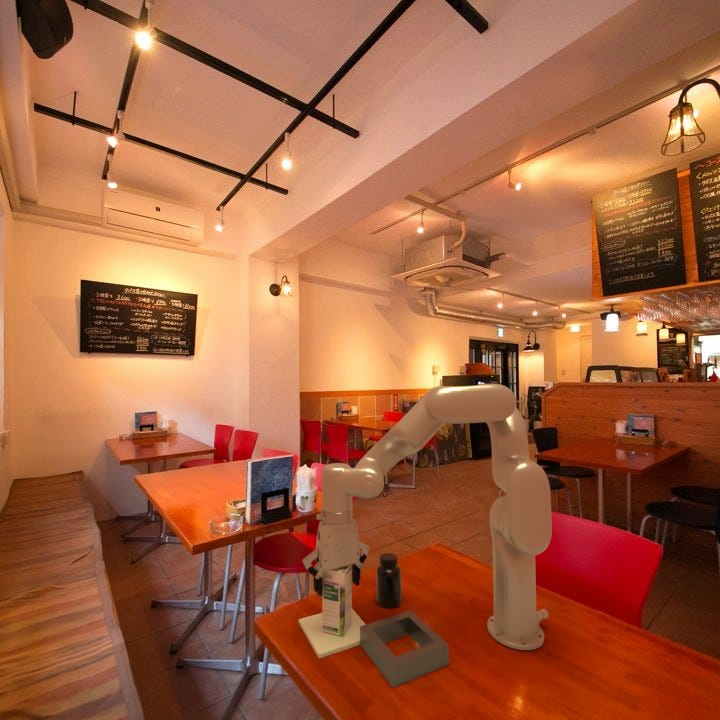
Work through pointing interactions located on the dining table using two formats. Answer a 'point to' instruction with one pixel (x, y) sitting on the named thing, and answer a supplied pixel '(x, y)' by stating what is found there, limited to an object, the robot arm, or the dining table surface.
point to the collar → (409, 663)
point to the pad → (330, 635)
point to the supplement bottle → (388, 581)
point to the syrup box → (337, 600)
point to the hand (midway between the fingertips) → (337, 588)
